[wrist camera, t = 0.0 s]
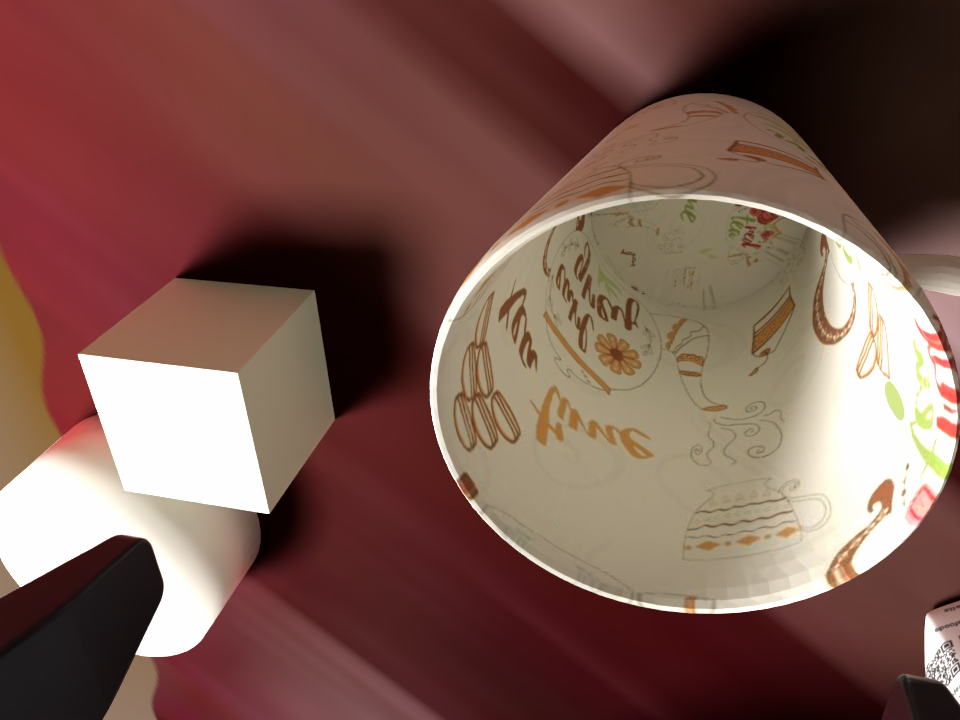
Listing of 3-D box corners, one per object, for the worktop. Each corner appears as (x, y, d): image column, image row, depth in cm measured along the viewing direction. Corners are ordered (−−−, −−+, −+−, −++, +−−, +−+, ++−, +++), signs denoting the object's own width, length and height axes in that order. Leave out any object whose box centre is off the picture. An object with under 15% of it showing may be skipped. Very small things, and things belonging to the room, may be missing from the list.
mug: (537, 41, 20) (403, 176, 12) (1125, 38, 17) (1471, 216, 9) (541, 333, 25) (446, 578, 17) (1012, 373, 22) (1179, 696, 14)
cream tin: (279, 597, 35) (232, 675, 32) (97, 563, 37) (35, 633, 34) (239, 425, 30) (179, 496, 27) (33, 397, 32) (-46, 460, 29)
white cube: (335, 417, 29) (269, 514, 25) (208, 401, 30) (124, 490, 26) (315, 289, 26) (237, 373, 22) (176, 276, 27) (77, 354, 23)
